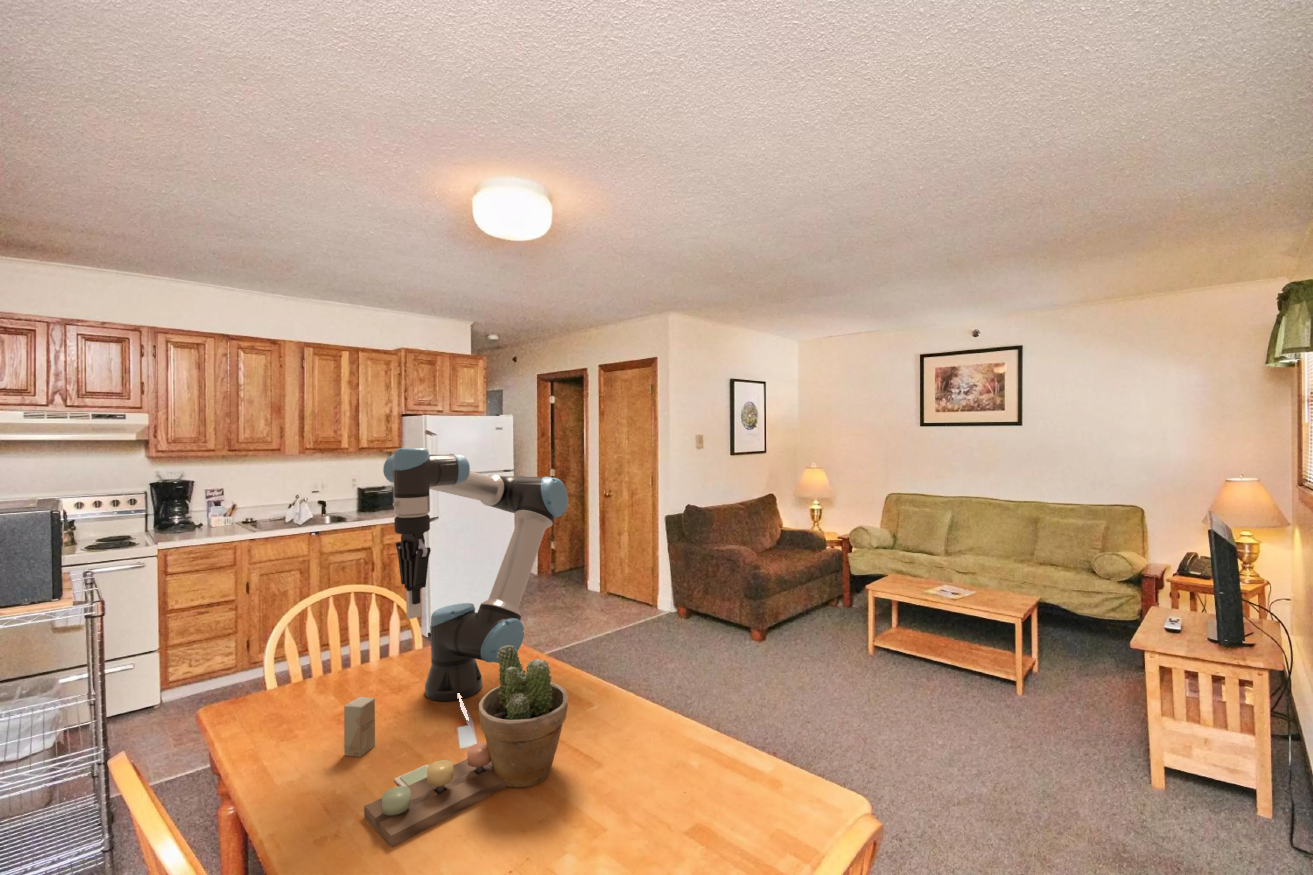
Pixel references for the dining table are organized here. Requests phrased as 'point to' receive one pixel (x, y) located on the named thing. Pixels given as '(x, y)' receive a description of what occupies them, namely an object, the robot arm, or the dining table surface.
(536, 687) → the potted plant
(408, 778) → the swatch
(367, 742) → the box
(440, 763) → the button ochre
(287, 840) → the dining table surface
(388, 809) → the button green
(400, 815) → the board
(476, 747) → the button terracotta
